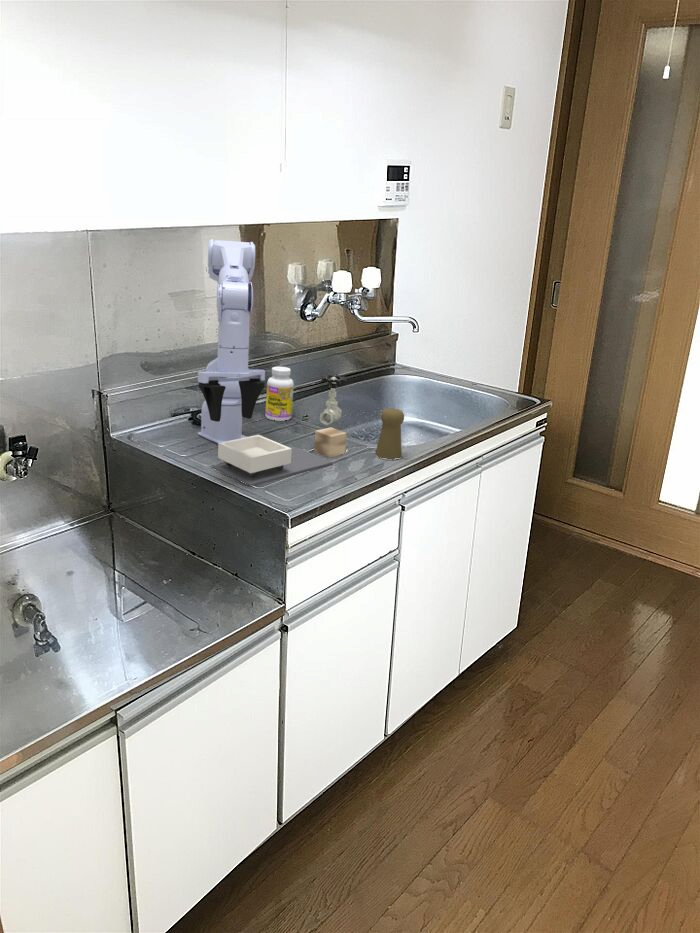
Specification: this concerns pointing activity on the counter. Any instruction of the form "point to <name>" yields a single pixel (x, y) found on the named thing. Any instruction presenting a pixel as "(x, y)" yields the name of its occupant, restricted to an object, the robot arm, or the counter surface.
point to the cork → (390, 434)
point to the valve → (332, 400)
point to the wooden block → (330, 442)
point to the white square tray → (254, 454)
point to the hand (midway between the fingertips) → (231, 419)
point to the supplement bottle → (279, 394)
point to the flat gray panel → (299, 464)
